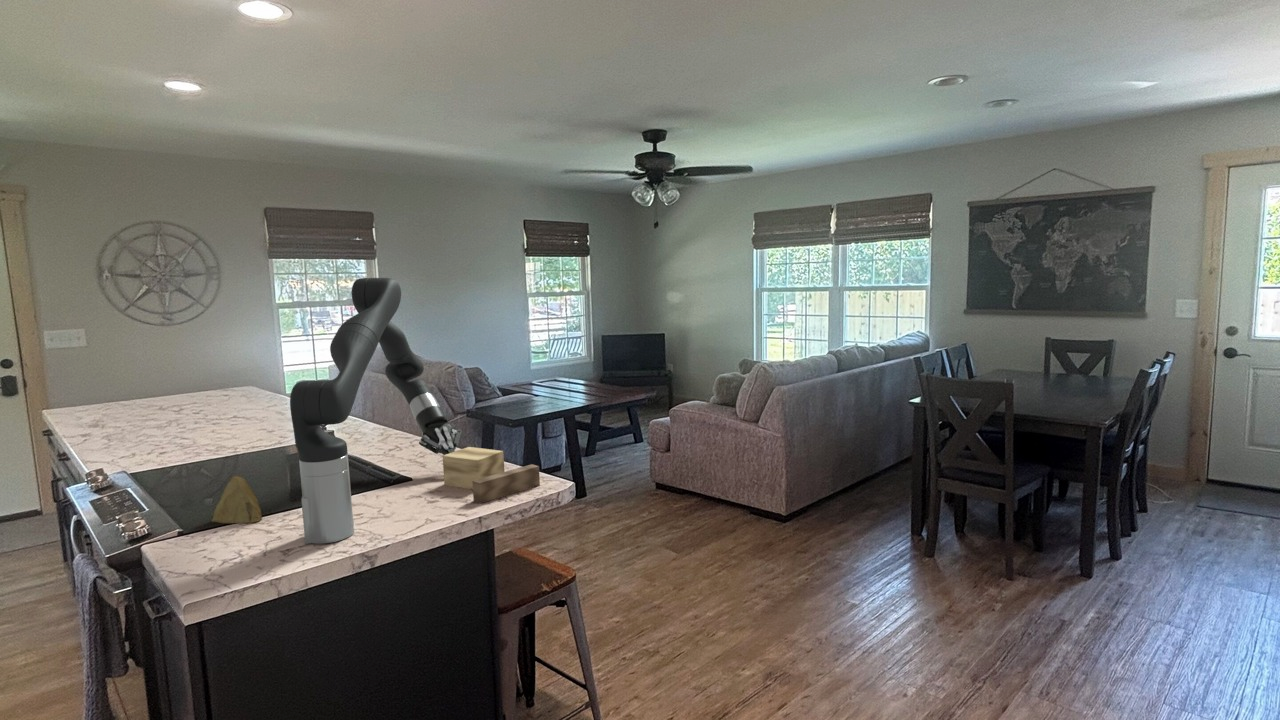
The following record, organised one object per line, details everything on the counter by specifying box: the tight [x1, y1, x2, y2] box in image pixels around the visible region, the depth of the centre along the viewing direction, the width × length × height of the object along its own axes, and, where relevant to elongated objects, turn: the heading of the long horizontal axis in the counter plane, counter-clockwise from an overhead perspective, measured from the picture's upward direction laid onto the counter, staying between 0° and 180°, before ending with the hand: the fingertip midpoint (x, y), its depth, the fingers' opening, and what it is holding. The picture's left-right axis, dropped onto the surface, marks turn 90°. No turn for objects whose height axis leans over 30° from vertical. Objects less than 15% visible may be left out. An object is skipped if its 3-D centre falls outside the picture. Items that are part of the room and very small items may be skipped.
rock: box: [211, 475, 263, 524], centre depth 153 cm, size 11×9×10 cm
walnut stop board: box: [472, 463, 541, 504], centre depth 168 cm, size 18×3×5 cm, turn 137°
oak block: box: [442, 446, 506, 490], centre depth 178 cm, size 10×12×8 cm
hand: (454, 462), depth 184 cm, fingers closed
